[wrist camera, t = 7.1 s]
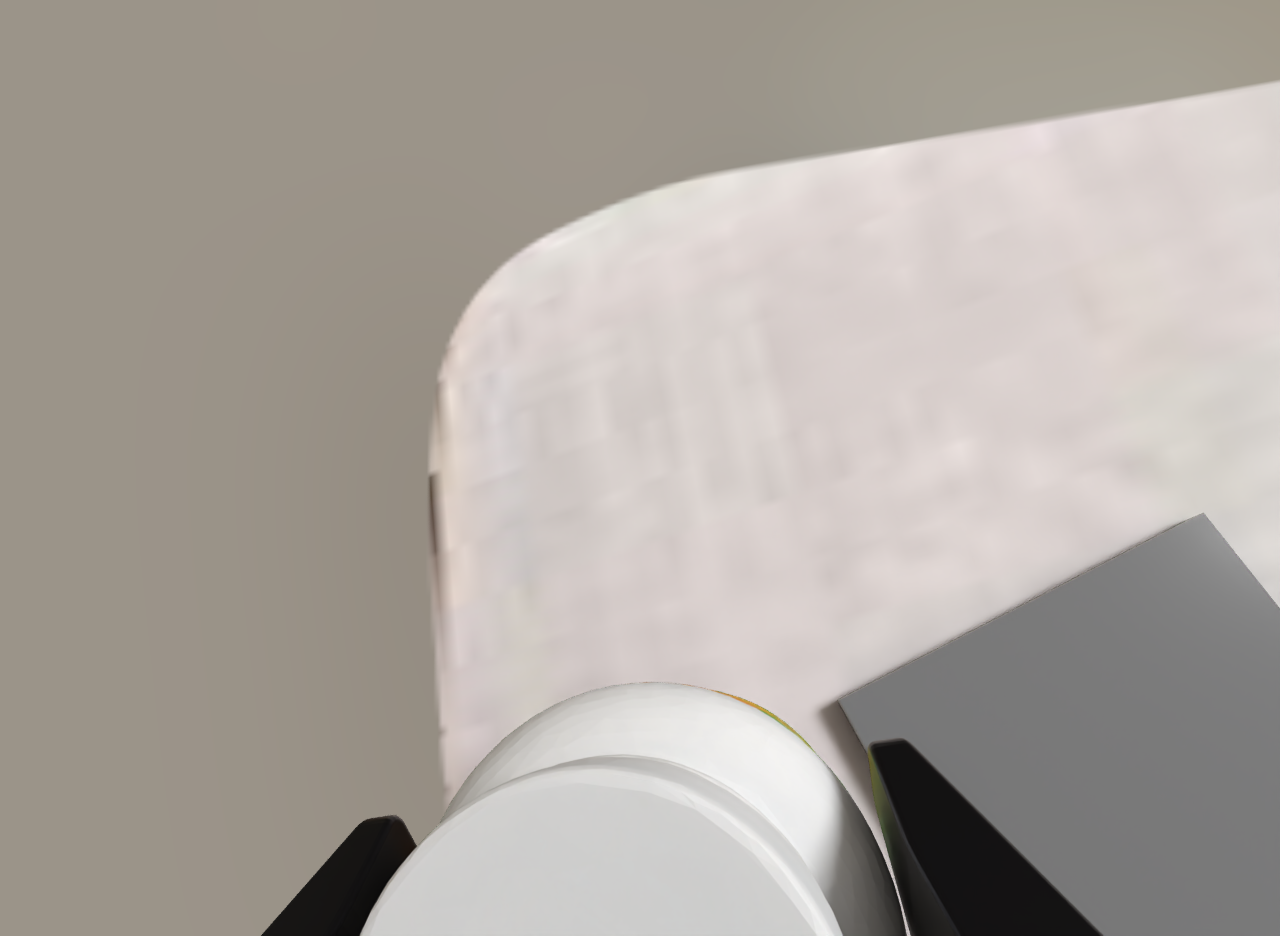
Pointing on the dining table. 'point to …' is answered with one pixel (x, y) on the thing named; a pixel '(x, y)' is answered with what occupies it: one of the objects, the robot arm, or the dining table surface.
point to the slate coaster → (1118, 736)
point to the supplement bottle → (646, 831)
